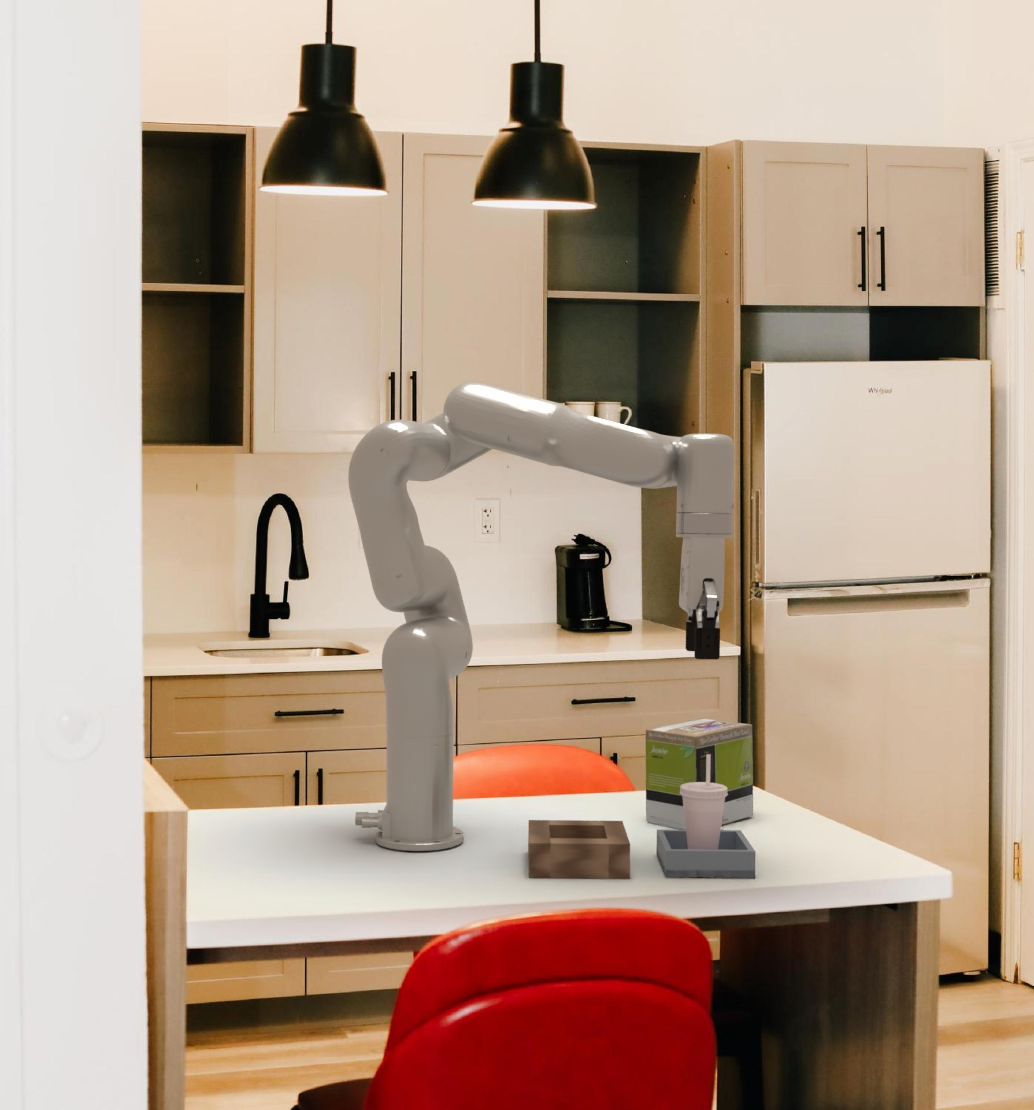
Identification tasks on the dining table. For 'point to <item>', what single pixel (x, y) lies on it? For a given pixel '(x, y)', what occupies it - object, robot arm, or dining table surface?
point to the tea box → (698, 767)
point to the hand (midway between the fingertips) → (702, 654)
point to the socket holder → (578, 849)
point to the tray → (705, 856)
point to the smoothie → (703, 811)
